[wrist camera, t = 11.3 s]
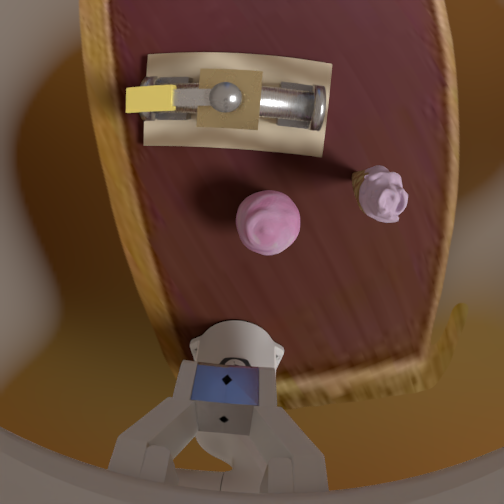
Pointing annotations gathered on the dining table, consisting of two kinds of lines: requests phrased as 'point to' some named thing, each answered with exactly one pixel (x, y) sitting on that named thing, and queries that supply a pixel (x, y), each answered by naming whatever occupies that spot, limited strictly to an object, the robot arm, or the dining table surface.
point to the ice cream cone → (379, 193)
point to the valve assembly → (253, 102)
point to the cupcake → (268, 222)
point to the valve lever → (182, 98)
